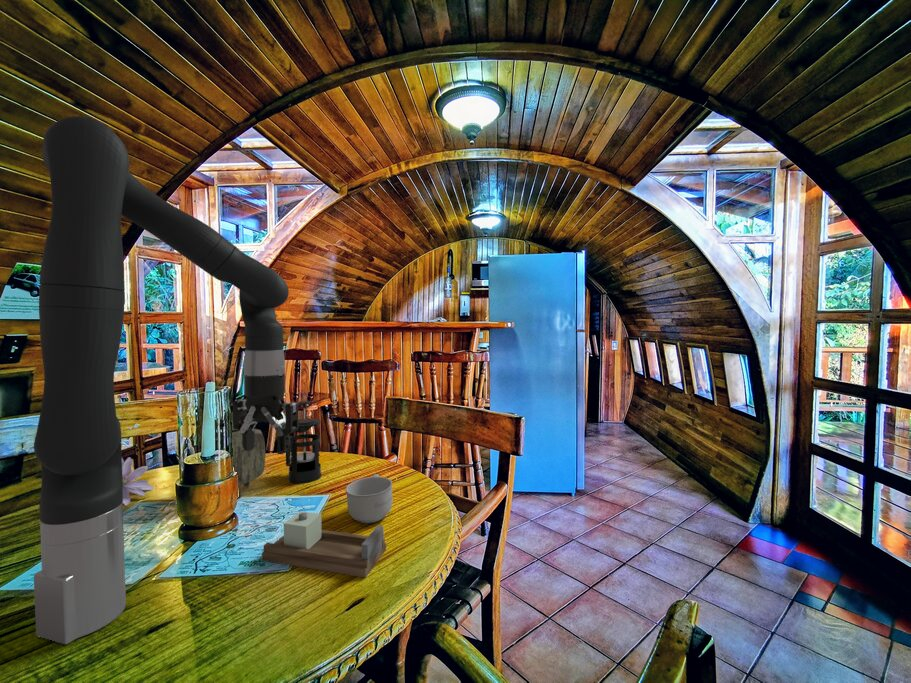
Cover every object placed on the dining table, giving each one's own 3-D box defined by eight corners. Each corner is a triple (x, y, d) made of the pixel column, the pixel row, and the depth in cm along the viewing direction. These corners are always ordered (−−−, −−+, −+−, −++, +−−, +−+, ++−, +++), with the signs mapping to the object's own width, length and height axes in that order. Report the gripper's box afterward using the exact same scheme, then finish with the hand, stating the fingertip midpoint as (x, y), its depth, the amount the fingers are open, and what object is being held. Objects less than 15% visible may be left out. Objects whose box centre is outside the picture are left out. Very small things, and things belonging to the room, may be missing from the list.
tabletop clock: (248, 483, 113) (247, 397, 112) (269, 489, 109) (268, 400, 108) (195, 503, 100) (193, 406, 99) (216, 511, 96) (214, 410, 95)
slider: (306, 551, 76) (306, 522, 76) (283, 548, 77) (283, 519, 77) (321, 537, 81) (321, 510, 81) (300, 534, 82) (300, 507, 82)
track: (365, 577, 71) (365, 548, 71) (262, 560, 76) (261, 532, 76) (385, 550, 80) (385, 523, 80) (291, 536, 85) (291, 511, 85)
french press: (329, 474, 120) (329, 399, 119) (309, 485, 111) (308, 405, 110) (298, 469, 124) (298, 397, 123) (276, 480, 115) (275, 402, 114)
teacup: (382, 531, 87) (382, 496, 87) (337, 525, 89) (337, 491, 89) (402, 503, 101) (402, 472, 100) (363, 499, 103) (363, 469, 103)
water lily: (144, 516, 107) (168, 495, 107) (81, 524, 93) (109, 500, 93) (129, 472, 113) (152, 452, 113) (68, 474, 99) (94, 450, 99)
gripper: (220, 372, 78) (221, 454, 78) (283, 375, 74) (284, 460, 75) (248, 368, 85) (249, 443, 86) (307, 371, 82) (307, 448, 82)
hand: (265, 451), depth 80 cm, fingers open, 7 cm apart
